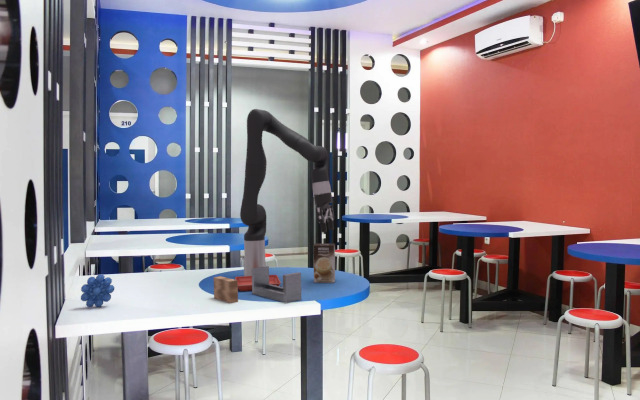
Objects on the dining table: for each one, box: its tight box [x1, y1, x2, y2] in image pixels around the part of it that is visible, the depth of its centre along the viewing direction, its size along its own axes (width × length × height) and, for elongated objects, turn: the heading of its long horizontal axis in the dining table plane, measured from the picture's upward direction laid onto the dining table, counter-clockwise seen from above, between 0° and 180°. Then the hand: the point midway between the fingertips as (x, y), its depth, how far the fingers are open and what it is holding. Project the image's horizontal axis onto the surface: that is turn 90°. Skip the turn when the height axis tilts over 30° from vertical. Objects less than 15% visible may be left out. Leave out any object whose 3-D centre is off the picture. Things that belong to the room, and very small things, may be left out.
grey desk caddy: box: [251, 265, 302, 304], centre depth 204 cm, size 22×7×10 cm, turn 41°
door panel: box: [213, 275, 239, 304], centre depth 201 cm, size 12×3×8 cm, turn 41°
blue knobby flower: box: [80, 273, 115, 308], centre depth 195 cm, size 12×7×12 cm, turn 100°
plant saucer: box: [234, 274, 282, 292], centre depth 224 cm, size 18×18×3 cm
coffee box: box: [313, 243, 336, 284], centre depth 231 cm, size 9×6×16 cm
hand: (327, 231), depth 226 cm, fingers open, 8 cm apart
